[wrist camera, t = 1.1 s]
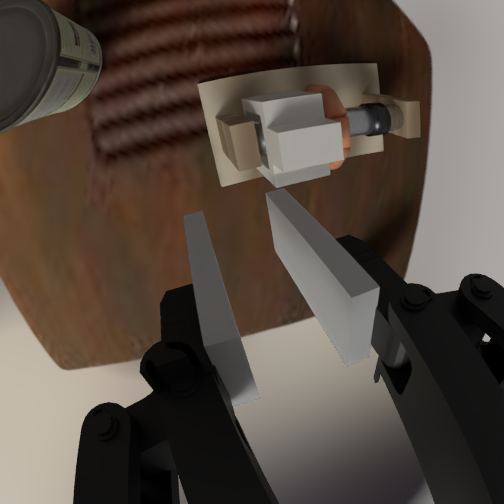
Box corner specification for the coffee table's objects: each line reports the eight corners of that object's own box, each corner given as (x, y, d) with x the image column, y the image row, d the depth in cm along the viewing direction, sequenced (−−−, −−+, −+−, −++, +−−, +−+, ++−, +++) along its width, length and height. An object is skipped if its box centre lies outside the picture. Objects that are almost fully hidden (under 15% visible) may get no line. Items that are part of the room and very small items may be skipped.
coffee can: (5, 85, 21) (-71, 98, 9) (61, 10, 19) (3, -24, 7) (62, 132, 26) (1, 165, 14) (122, 56, 24) (88, 34, 12)
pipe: (235, 157, 28) (243, 166, 25) (227, 122, 26) (235, 127, 23) (395, 128, 30) (415, 134, 27) (394, 99, 28) (414, 103, 25)
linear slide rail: (220, 185, 34) (237, 216, 27) (197, 84, 28) (206, 81, 20) (380, 149, 37) (425, 169, 29) (373, 63, 30) (422, 65, 23)
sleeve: (254, 165, 31) (287, 199, 22) (240, 98, 27) (272, 104, 19) (298, 155, 31) (345, 184, 23) (288, 90, 27) (337, 95, 19)
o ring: (302, 157, 32) (339, 180, 25) (291, 85, 27) (330, 87, 21) (317, 154, 32) (356, 176, 25) (307, 83, 28) (349, 85, 21)
